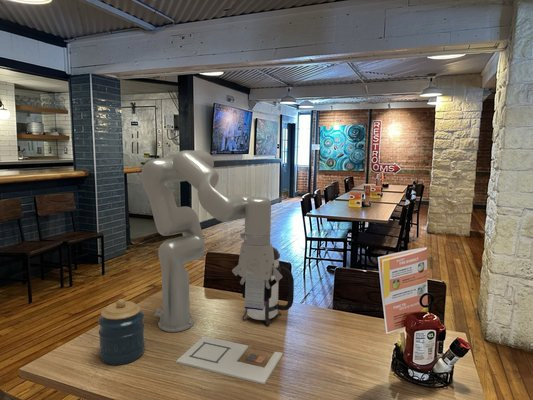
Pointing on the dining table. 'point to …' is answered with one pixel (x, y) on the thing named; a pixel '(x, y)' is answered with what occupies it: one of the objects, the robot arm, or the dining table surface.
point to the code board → (228, 360)
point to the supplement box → (254, 292)
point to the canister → (121, 333)
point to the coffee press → (273, 297)
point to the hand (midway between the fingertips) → (256, 297)
